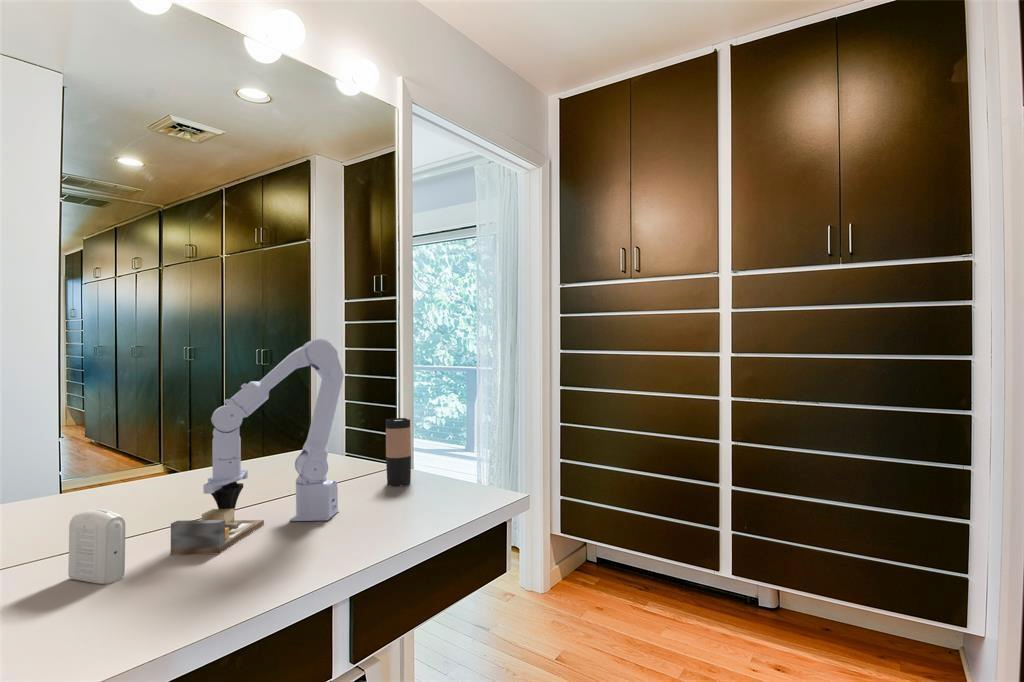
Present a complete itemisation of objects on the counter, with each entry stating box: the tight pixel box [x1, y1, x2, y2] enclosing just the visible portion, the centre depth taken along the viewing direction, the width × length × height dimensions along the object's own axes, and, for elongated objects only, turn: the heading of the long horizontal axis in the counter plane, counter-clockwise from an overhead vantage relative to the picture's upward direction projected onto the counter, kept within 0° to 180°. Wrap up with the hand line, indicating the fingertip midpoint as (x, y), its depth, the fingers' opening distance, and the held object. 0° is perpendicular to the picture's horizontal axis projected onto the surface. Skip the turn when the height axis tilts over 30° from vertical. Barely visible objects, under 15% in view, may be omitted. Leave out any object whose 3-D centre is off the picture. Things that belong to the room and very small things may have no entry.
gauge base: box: [170, 519, 265, 555], centre depth 113 cm, size 10×18×6 cm, turn 179°
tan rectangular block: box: [201, 508, 238, 529], centre depth 115 cm, size 8×4×4 cm, turn 89°
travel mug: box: [385, 417, 412, 487], centre depth 161 cm, size 8×8×20 cm
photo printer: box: [67, 508, 126, 585], centre depth 93 cm, size 10×4×12 cm, turn 73°
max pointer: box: [225, 528, 229, 539], centre depth 108 cm, size 2×2×2 cm, turn 89°
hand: (227, 517), depth 118 cm, fingers closed
